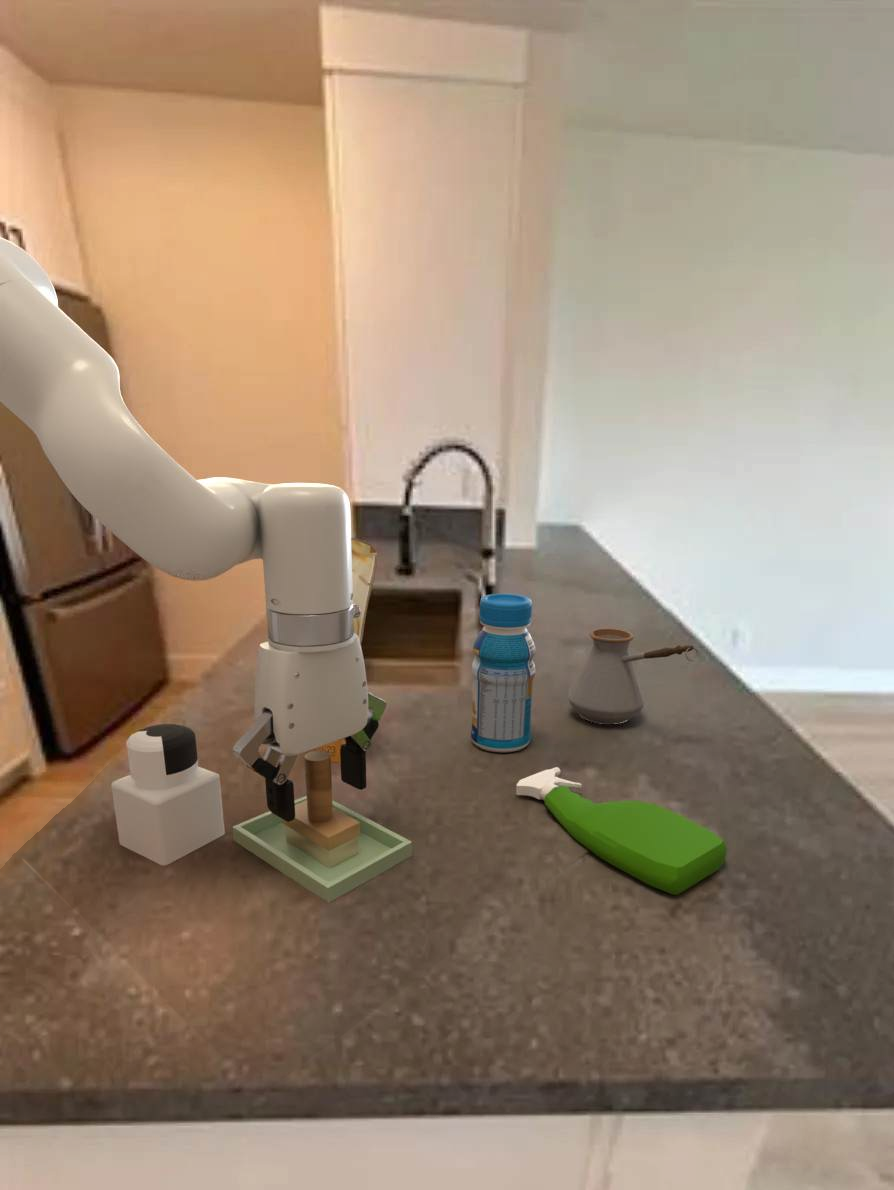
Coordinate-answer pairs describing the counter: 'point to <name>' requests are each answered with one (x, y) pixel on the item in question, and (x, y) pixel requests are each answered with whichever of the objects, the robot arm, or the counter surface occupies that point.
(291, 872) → the tray
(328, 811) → the brush
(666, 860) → the spray bottle
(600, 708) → the coffee pot
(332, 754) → the pancake mix bag
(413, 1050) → the counter surface
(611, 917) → the counter surface
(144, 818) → the medicine bottle
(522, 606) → the beverage bottle
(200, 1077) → the counter surface
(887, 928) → the counter surface
